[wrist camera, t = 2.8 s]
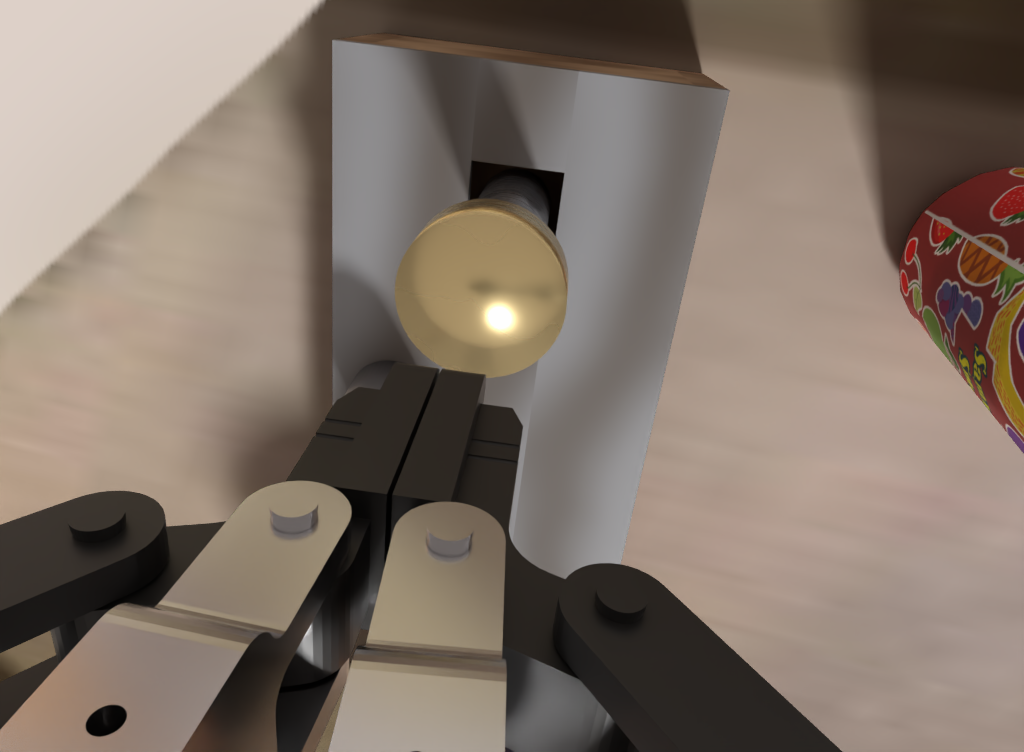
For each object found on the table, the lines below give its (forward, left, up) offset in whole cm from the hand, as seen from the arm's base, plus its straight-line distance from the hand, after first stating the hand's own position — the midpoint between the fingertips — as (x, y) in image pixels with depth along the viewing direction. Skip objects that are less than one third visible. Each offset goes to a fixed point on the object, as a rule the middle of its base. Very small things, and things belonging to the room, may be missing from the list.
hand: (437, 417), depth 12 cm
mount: (0, +7, -19) cm, 21 cm away
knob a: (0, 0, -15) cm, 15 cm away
